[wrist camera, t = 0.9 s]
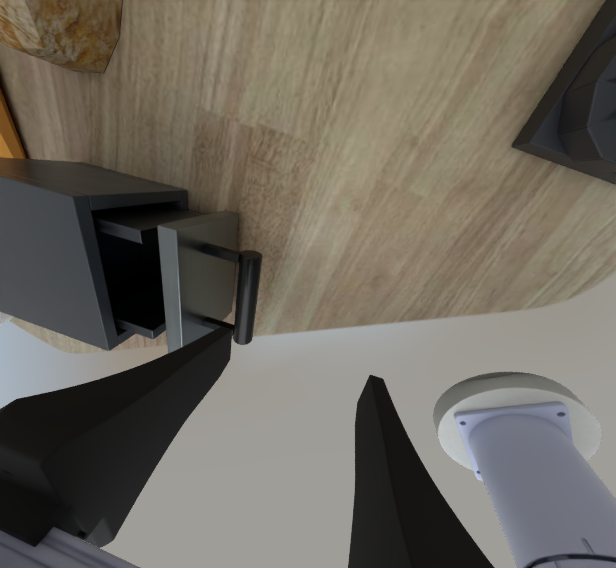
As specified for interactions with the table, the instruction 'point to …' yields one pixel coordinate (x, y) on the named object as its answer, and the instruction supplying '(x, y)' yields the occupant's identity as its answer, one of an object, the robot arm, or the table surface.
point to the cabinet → (64, 243)
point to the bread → (63, 30)
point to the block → (580, 106)
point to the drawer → (176, 272)
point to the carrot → (9, 134)
